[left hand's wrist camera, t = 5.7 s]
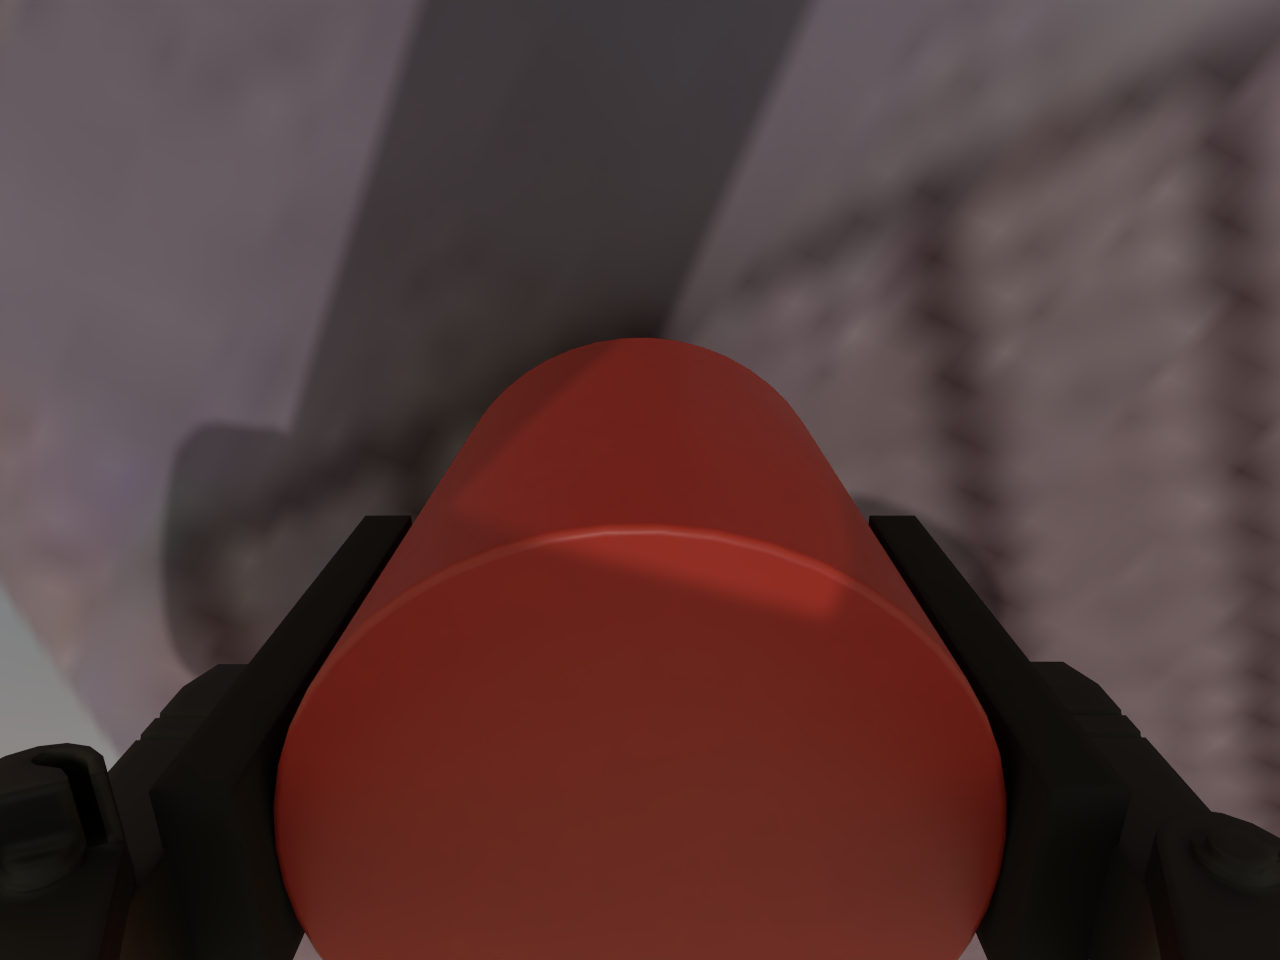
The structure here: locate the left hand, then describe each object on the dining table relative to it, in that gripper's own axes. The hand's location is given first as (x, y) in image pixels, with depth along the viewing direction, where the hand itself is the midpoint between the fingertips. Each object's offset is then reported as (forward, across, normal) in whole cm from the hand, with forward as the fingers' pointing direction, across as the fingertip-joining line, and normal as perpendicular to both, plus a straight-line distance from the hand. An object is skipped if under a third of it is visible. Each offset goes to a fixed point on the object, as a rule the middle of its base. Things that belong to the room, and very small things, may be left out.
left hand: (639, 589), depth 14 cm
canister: (+3, 0, 0) cm, 3 cm away
